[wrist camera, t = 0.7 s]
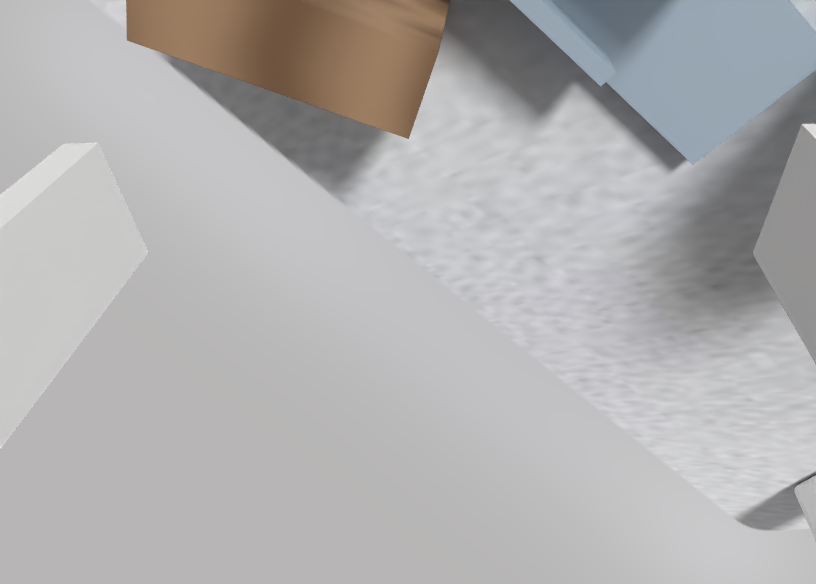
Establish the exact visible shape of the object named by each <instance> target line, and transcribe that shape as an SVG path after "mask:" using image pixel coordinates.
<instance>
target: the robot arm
mask: <svg viewBox="0 0 816 584" xmlns="http://www.w3.org/2000/svg"><path fill="white" fill-rule="evenodd" d="M147 254H148V251H147V248H146V246H145V244H144V242H143V240H142V238H141V235H140V233H139V231H138V229H137V227H136V224H135V222H134V220H133V218H132V216H131V214H130V211H129V209H128V207H127V205H126V203H125V201H124V198H123V196H122V194H121V192H120V190H119V187H118V185H117V183H116V181H115V179H114V176H113V174H112V172H111V170H110V168H109V166H108V163H107V161H106V159H105V157H104V155H103V153H102V150H101V148H100V146H99V144H98V143H75V144H63V145H62V146H60V147H59V148H58V149H57V150H55V151H54V152H53V153H52V154H50V155H49V156H48V157H47V158H46V159H44V160H43V161H42V162H40V163H39V164H38V165H37V166H36V167H34V168H33V169H32V170H31V171H29V172H28V173H27V174H26V175H24V176H23V177H22V178H21V179H19V180H18V181H17V182H16V183H14V184H13V185H12V186H11V187H9V188H8V189H7V190H6V191H4V192H3V193H2V194H1V195H0V449H1V448H2V446H3V445H4V443H5V442H6V441H7V440H8V438H9V437H10V435H11V434H12V433H13V432H14V430H15V429H16V428H17V426H18V425H19V424H20V422H21V421H22V420H23V418H24V417H25V416H26V414H27V413H28V412H29V411H30V409H31V408H32V406H33V405H34V404H35V403H36V401H37V400H38V399H39V397H40V396H41V395H42V393H43V392H44V391H45V389H46V388H47V387H48V385H49V384H50V383H51V381H52V380H53V379H54V377H55V376H56V375H57V373H58V372H59V371H60V369H61V368H62V367H63V365H64V364H65V363H66V361H67V360H68V359H69V358H70V356H71V355H72V353H73V352H74V351H75V350H76V348H77V347H78V346H79V344H80V343H81V342H82V340H83V339H84V338H85V336H86V335H87V334H88V332H89V331H90V330H91V328H92V327H93V325H94V324H95V323H96V322H97V320H98V319H99V318H100V316H101V315H102V314H103V312H104V311H105V310H106V308H107V307H108V306H109V304H110V303H111V302H112V301H113V299H114V298H115V297H116V295H117V294H118V293H119V291H120V290H121V289H122V287H123V286H124V284H125V283H126V282H127V281H128V279H129V278H130V277H131V275H132V274H133V273H134V271H135V270H136V269H137V267H138V266H139V265H140V263H141V262H142V261H143V259H144V258H145V257H146V256H147ZM752 254H753V256H754V257H755V259H756V261H757V263H758V264H759V266H760V268H761V269H762V271H763V273H764V275H765V276H766V278H767V280H768V282H769V283H770V285H771V287H772V289H773V290H774V292H775V294H776V296H777V297H778V299H779V301H780V303H781V304H782V306H783V308H784V310H785V311H786V313H787V315H788V316H789V318H790V320H791V322H792V323H793V325H794V327H795V329H796V330H797V332H798V334H799V336H800V337H801V339H802V341H803V343H804V344H805V346H806V348H807V350H808V351H809V353H810V355H811V357H812V358H813V360H814V362H815V363H816V124H801V127H800V130H799V132H798V135H797V138H796V140H795V143H794V145H793V148H792V151H791V153H790V156H789V159H788V161H787V164H786V166H785V169H784V172H783V174H782V177H781V180H780V182H779V185H778V188H777V190H776V193H775V195H774V198H773V201H772V203H771V206H770V209H769V211H768V214H767V216H766V219H765V222H764V224H763V227H762V230H761V232H760V235H759V238H758V240H757V243H756V245H755V248H754V251H753V253H752Z"/></svg>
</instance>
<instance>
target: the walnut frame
mask: <svg viewBox="0 0 816 584" xmlns="http://www.w3.org/2000/svg"><path fill="white" fill-rule="evenodd" d="M449 3H450V0H126V7H127V40H128V41H130V42H133V43H136V44H139V45H142V46H145V47H147V48H150V49H153V50H156V51H159V52H162V53H165V54H167V55H170V56H173V57H176V58H179V59H182V60H185V61H187V62H190V63H193V64H196V65H199V66H202V67H205V68H207V69H210V70H213V71H216V72H219V73H222V74H225V75H227V76H230V77H233V78H236V79H239V80H242V81H245V82H247V83H250V84H253V85H256V86H259V87H262V88H265V89H267V90H270V91H273V92H276V93H279V94H282V95H285V96H287V97H290V98H293V99H296V100H299V101H302V102H305V103H307V104H310V105H313V106H316V107H319V108H322V109H325V110H328V111H330V112H333V113H336V114H339V115H342V116H345V117H348V118H350V119H353V120H356V121H359V122H362V123H365V124H368V125H370V126H373V127H376V128H379V129H382V130H385V131H388V132H390V133H393V134H396V135H399V136H402V137H405V138H408V139H409V136H410V133H411V130H412V127H413V125H414V122H415V119H416V116H417V113H418V110H419V107H420V104H421V101H422V98H423V96H424V93H425V90H426V87H427V84H428V81H429V78H430V75H431V72H432V69H433V67H434V64H435V61H436V58H437V55H438V52H439V48H440V43H441V39H442V34H443V30H444V25H445V21H446V16H447V12H448V7H449Z"/></svg>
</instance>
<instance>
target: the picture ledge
mask: <svg viewBox="0 0 816 584" xmlns="http://www.w3.org/2000/svg"><path fill="white" fill-rule="evenodd" d="M510 1H511V2H512V3H513V4H514V5H515V6H516V7H517V8H518V9H519V10H520V11H521V12H522V13H523V14H525V15H526V16H527V17H528V18H529V19H530V20H531V21H532V22H533V23H534V24H535V25H536V26H537V27H538V28H539V29H540V30H541V31H542V32H544V33H545V34H546V35H547V36H548V37H549V38H550V39H551V40H552V41H553V42H554V43H555V44H556V45H557V46H558V47H559V48H560V49H561V50H563V51H564V52H565V53H566V54H567V55H568V56H569V57H570V58H571V59H572V60H573V61H574V62H575V63H576V64H577V65H578V66H579V67H581V68H582V69H583V70H584V71H585V72H586V73H587V74H588V75H589V76H590V77H591V78H592V79H593V80H594V81H595V82H596V83H597V84H598V85H600V86H602V85H603V84H604V83H605V82H606V83H608V84H609V85H610V86H611V87H612V88H613V89H614V90H615V91H616V92H617V93H618V94H619V95H620V96H621V97H622V98H623V99H624V100H625V101H626V102H627V103H628V104H629V105H631V106H632V107H633V108H634V109H635V110H636V111H637V112H638V113H639V114H640V115H641V116H642V117H643V118H644V119H645V120H646V121H647V122H648V123H649V124H650V125H651V126H653V127H654V128H655V129H656V130H657V131H658V132H659V133H660V134H661V135H662V136H663V137H664V138H665V139H666V140H667V141H668V142H669V143H670V144H671V145H672V146H673V147H675V148H676V149H677V150H678V151H679V152H680V153H681V154H682V155H683V156H684V157H685V158H686V159H687V160H688V161H689V162H690V163H691V164H692V165H693V164H695V163H696V162H697V161H699V160H700V159H701V158H702V157H704V156H705V155H706V154H708V153H709V152H710V151H712V150H713V149H714V148H715V147H717V146H718V145H719V144H721V143H722V142H723V141H724V140H726V139H727V138H728V137H730V136H731V135H732V134H734V133H735V132H736V131H737V130H739V129H740V128H741V127H743V126H744V125H745V124H747V123H748V122H749V121H750V120H752V119H753V118H754V117H756V116H757V115H758V114H760V113H761V112H762V111H763V110H765V109H766V108H767V107H769V106H770V105H771V104H773V103H774V102H775V101H776V100H778V99H779V98H780V97H782V96H783V95H784V94H786V93H787V92H788V91H789V90H791V89H792V88H793V87H795V86H796V85H797V84H798V83H800V82H801V81H802V80H804V79H805V78H806V77H808V76H809V75H810V74H811V73H813V72H814V71H815V70H816V32H815V31H814V29H813V28H812V27H811V26H810V25H809V23H808V22H807V21H806V20H805V18H804V17H803V16H802V15H801V14H800V12H799V11H798V10H797V9H796V8H795V6H794V5H793V4H792V3H791V1H790V0H510Z"/></svg>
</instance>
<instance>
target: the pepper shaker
mask: <svg viewBox="0 0 816 584" xmlns="http://www.w3.org/2000/svg"><path fill="white" fill-rule="evenodd" d="M795 494H796V497H797V499H798V501H799V504H800V506H801V508H802V511H803V513H804V515H805V517H806V520H807V522H808V524H809V527H810V529H811V531H812V533H813V536H814V538H815V540H816V475H815V476H813V477H812V478H810V479H808V480H806V481H804V482H802V483H801V484H799V485H797V486H796V487H795Z"/></svg>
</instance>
